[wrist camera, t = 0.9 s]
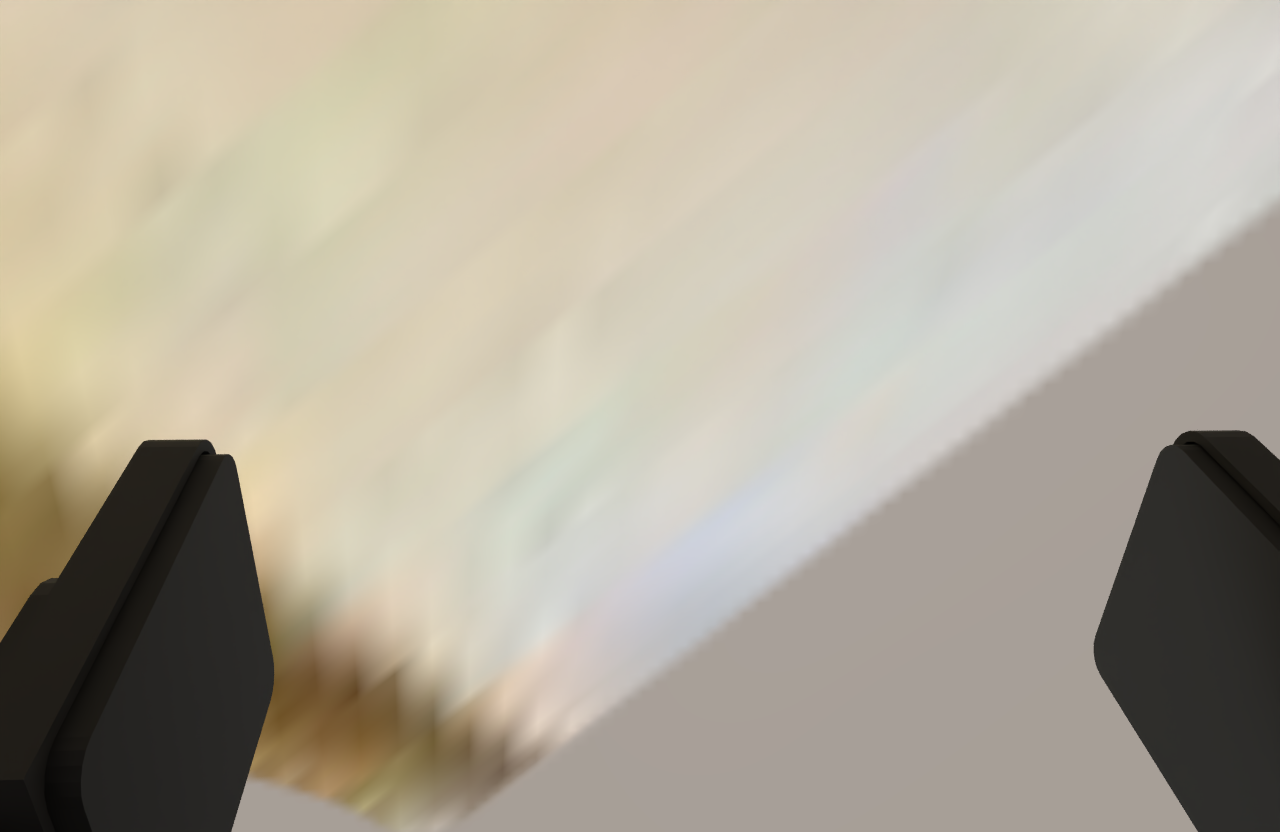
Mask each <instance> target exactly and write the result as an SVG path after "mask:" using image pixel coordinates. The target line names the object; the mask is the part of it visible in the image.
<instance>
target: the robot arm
mask: <svg viewBox="0 0 1280 832" xmlns="http://www.w3.org/2000/svg"><path fill="white" fill-rule="evenodd" d="M1094 657H1095V662H1096V666H1097V669H1098V671H1099V673H1100V675H1101V677H1102V678H1103V680H1104V681H1105V683H1106V685H1107V686H1108V688H1109V690H1110V691H1111V693H1112V694H1113V696H1114V698H1115V699H1116V701H1117V702H1118V704H1119V706H1120V707H1121V709H1122V710H1123V712H1124V714H1125V715H1126V717H1127V718H1128V720H1129V722H1130V723H1131V725H1132V726H1133V728H1134V730H1135V731H1136V733H1137V735H1138V736H1139V738H1140V739H1141V741H1142V743H1143V744H1144V746H1145V747H1146V749H1147V751H1148V752H1149V754H1150V755H1151V757H1152V759H1153V760H1154V762H1155V763H1156V765H1157V767H1158V768H1159V770H1160V771H1161V773H1162V774H1163V776H1164V778H1165V779H1166V781H1167V783H1168V784H1169V786H1170V787H1171V789H1172V790H1173V792H1174V794H1175V795H1176V797H1177V798H1178V800H1179V802H1180V803H1181V805H1182V807H1183V808H1184V810H1185V812H1186V813H1187V815H1188V816H1189V818H1190V820H1191V821H1192V823H1193V824H1194V826H1195V828H1196V829H1197V831H1198V832H1280V460H1279V459H1278V458H1277V457H1276V456H1275V455H1273V454H1272V453H1271V452H1270V451H1269V450H1268V449H1267V448H1266V447H1265V446H1264V445H1263V444H1262V443H1261V442H1260V441H1258V440H1257V439H1256V438H1255V437H1254V436H1252V435H1251V434H1249V433H1248V432H1245V431H1237V430H1235V431H1188V432H1185V433H1183V434H1181V435H1180V436H1179V437H1178V438H1177V439H1176V440H1175V442H1174V444H1173V445H1169V446H1167V447H1165V448H1164V449H1163V450H1162V451H1161V452H1160V454H1159V456H1158V458H1157V461H1156V464H1155V467H1154V469H1153V472H1152V475H1151V478H1150V481H1149V484H1148V487H1147V489H1146V493H1145V495H1144V498H1143V501H1142V504H1141V507H1140V510H1139V512H1138V515H1137V518H1136V521H1135V525H1134V527H1133V530H1132V533H1131V535H1130V538H1129V541H1128V544H1127V547H1126V550H1125V553H1124V556H1123V559H1122V561H1121V564H1120V567H1119V570H1118V573H1117V576H1116V578H1115V581H1114V584H1113V588H1112V590H1111V593H1110V596H1109V599H1108V601H1107V604H1106V607H1105V610H1104V613H1103V616H1102V619H1101V622H1100V625H1099V627H1098V630H1097V633H1096V636H1095V641H1094ZM273 684H274V662H273V655H272V650H271V645H270V640H269V635H268V629H267V624H266V619H265V614H264V608H263V603H262V598H261V593H260V588H259V582H258V577H257V572H256V567H255V561H254V556H253V551H252V546H251V541H250V535H249V530H248V525H247V520H246V515H245V509H244V504H243V499H242V494H241V488H240V483H239V478H238V473H237V468H236V464H235V461H234V459H233V457H232V456H231V455H229V454H216V452H215V449H214V447H213V445H212V444H211V442H209V441H208V440H148V441H144V442H143V443H142V444H141V445H140V446H139V447H138V449H137V451H136V452H135V454H134V455H133V457H132V459H131V460H130V462H129V464H128V465H127V467H126V468H125V470H124V472H123V473H122V475H121V477H120V478H119V480H118V482H117V483H116V485H115V486H114V488H113V490H112V491H111V493H110V495H109V496H108V498H107V499H106V501H105V503H104V504H103V506H102V508H101V509H100V511H99V513H98V514H97V516H96V517H95V519H94V521H93V522H92V524H91V526H90V527H89V529H88V531H87V532H86V534H85V535H84V537H83V539H82V540H81V542H80V544H79V545H78V547H77V548H76V550H75V552H74V553H73V555H72V557H71V558H70V560H69V562H68V563H67V565H66V566H65V568H64V570H63V571H62V573H61V575H60V576H59V578H51V579H49V580H47V581H44V582H42V583H40V585H39V586H38V587H37V588H36V589H35V590H34V592H33V593H32V594H31V595H30V597H29V598H28V600H27V601H26V603H25V605H24V606H23V608H22V609H21V611H20V613H19V614H18V616H17V617H16V619H15V620H14V622H13V624H12V625H11V627H10V628H9V630H8V631H7V633H6V635H5V636H4V638H3V639H2V641H1V643H0V832H231V830H232V827H233V824H234V820H235V817H236V814H237V810H238V807H239V804H240V800H241V797H242V794H243V790H244V787H245V784H246V780H247V777H248V774H249V770H250V767H251V764H252V760H253V757H254V754H255V750H256V747H257V744H258V740H259V737H260V734H261V730H262V727H263V724H264V720H265V717H266V714H267V710H268V707H269V704H270V700H271V696H272V691H273Z"/></svg>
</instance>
